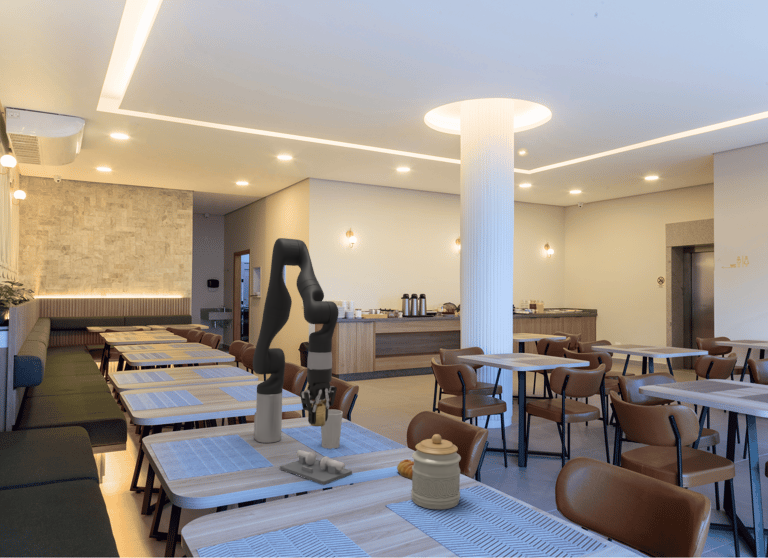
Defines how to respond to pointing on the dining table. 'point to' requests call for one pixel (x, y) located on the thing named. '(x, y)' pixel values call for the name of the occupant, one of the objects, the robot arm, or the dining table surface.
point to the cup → (332, 430)
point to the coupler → (320, 414)
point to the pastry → (405, 468)
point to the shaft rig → (317, 468)
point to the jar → (436, 474)
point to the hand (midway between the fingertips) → (318, 422)
